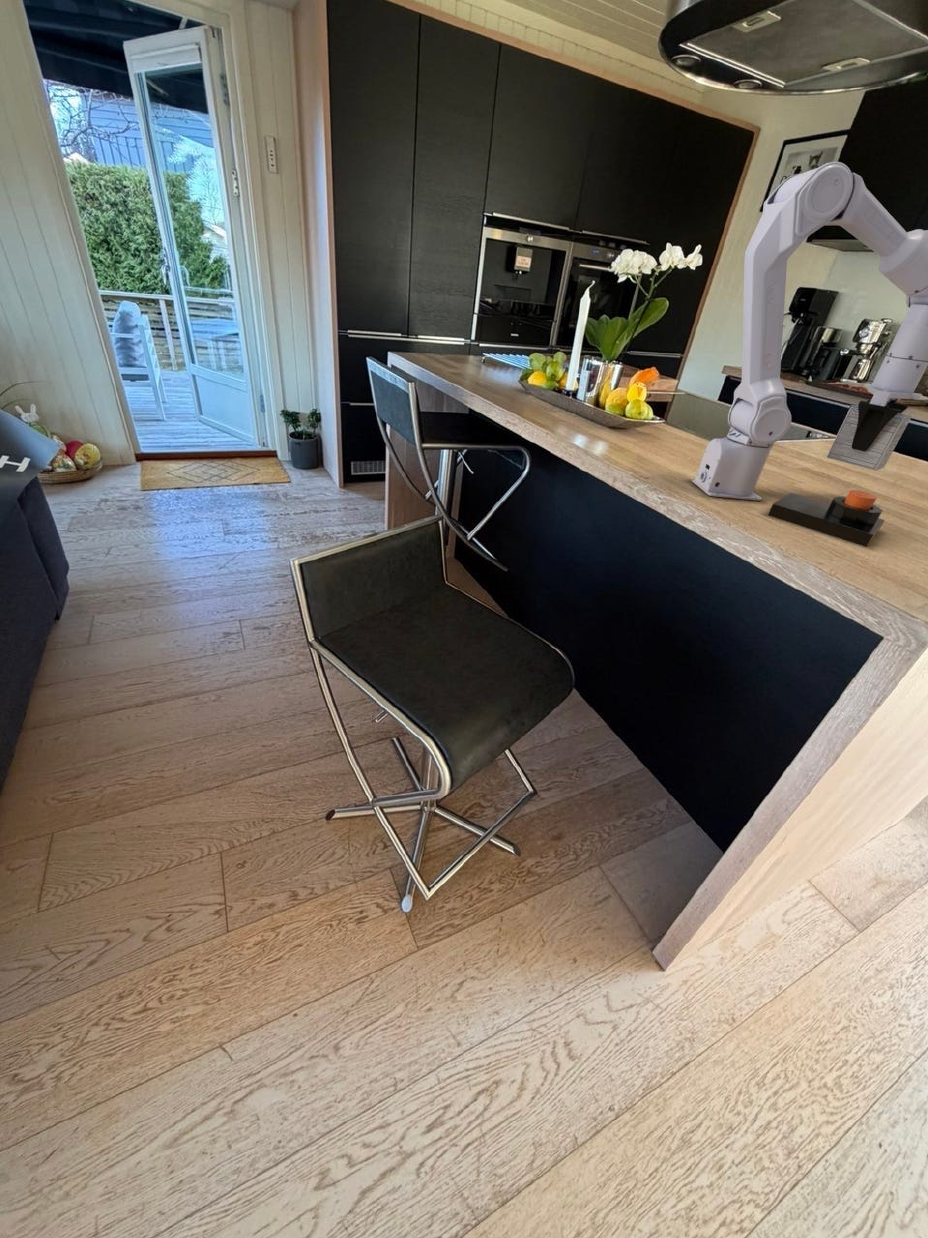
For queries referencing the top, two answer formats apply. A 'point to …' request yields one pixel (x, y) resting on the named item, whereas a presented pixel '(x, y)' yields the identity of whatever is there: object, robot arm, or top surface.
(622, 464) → the top surface
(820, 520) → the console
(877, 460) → the medicine box
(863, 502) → the button
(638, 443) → the top surface
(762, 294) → the robot arm
